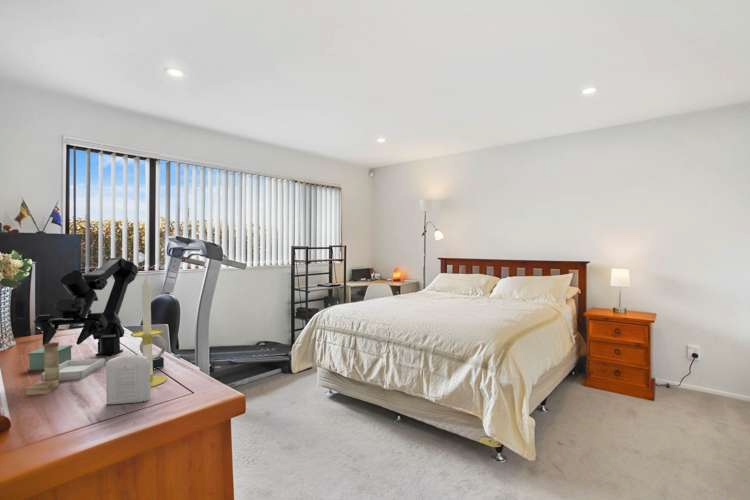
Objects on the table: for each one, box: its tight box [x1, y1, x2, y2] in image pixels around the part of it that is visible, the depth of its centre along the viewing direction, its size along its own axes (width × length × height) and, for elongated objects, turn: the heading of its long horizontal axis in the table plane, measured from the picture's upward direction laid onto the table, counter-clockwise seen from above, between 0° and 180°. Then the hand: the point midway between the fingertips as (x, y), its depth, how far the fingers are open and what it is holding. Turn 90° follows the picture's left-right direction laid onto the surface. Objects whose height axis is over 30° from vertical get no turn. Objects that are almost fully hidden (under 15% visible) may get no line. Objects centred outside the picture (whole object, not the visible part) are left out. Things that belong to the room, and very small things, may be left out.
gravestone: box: [105, 354, 151, 405], centre depth 100 cm, size 10×4×12 cm, turn 103°
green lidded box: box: [27, 344, 73, 371], centre depth 130 cm, size 9×9×7 cm
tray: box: [40, 357, 105, 382], centre depth 122 cm, size 13×11×2 cm
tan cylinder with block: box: [25, 341, 60, 396], centre depth 109 cm, size 8×5×13 cm, turn 11°
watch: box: [139, 334, 168, 370], centre depth 127 cm, size 6×8×11 cm
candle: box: [130, 277, 168, 388], centre depth 113 cm, size 10×10×32 cm
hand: (60, 344), depth 115 cm, fingers open, 9 cm apart
